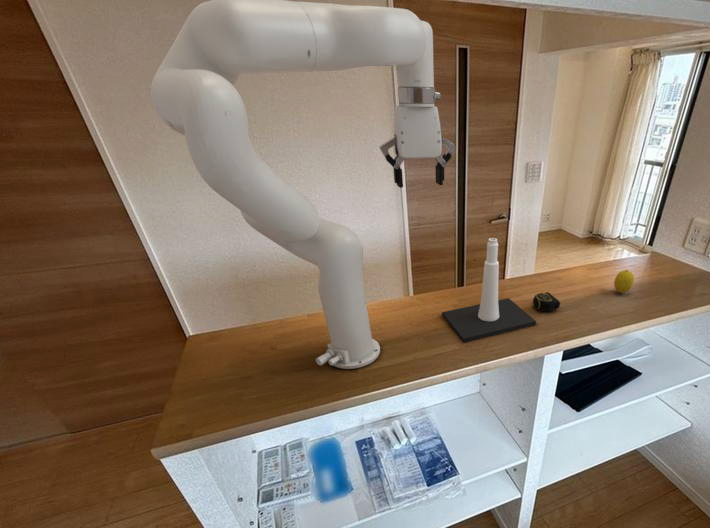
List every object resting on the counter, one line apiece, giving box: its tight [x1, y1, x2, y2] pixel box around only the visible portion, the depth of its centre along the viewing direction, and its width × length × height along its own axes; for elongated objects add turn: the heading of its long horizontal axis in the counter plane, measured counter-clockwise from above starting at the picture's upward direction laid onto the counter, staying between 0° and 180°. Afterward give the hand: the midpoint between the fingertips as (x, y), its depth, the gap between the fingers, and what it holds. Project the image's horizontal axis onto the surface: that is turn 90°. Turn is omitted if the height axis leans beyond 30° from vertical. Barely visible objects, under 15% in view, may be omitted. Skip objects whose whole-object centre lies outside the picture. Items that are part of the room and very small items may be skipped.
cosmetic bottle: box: [478, 237, 500, 321], centre depth 98 cm, size 6×6×22 cm
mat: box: [441, 297, 537, 343], centre depth 104 cm, size 22×15×1 cm
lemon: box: [613, 269, 635, 294], centre depth 117 cm, size 6×6×8 cm
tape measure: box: [532, 291, 561, 312], centre depth 110 cm, size 7×7×4 cm
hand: (419, 185), depth 87 cm, fingers open, 9 cm apart
